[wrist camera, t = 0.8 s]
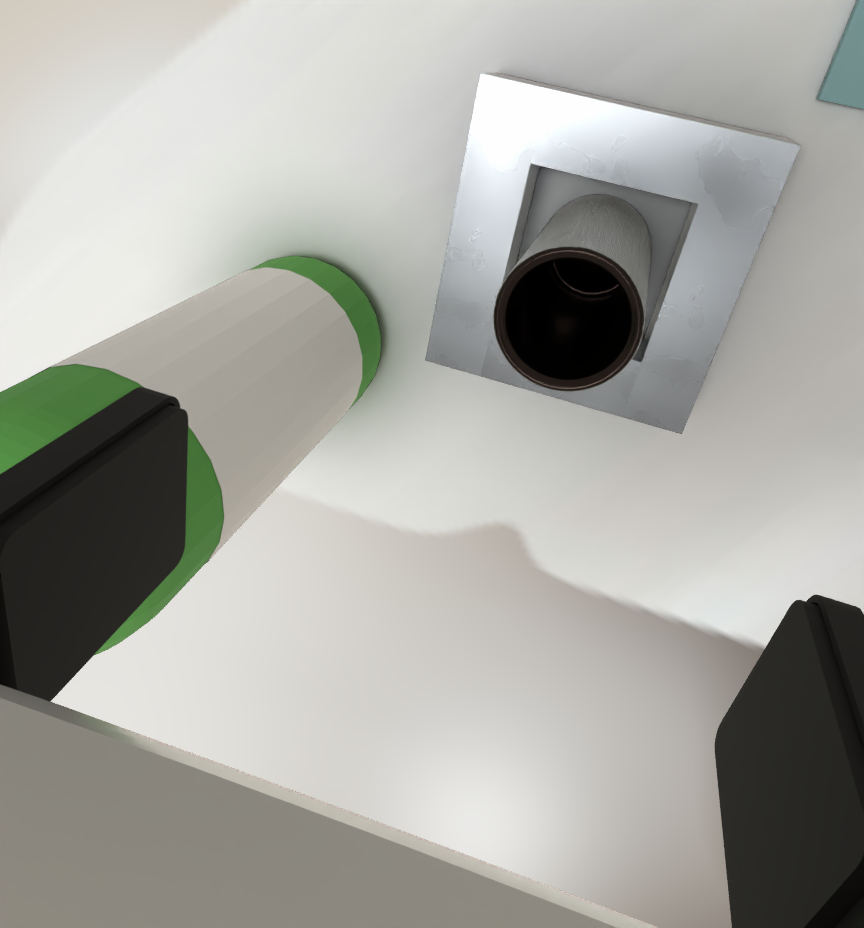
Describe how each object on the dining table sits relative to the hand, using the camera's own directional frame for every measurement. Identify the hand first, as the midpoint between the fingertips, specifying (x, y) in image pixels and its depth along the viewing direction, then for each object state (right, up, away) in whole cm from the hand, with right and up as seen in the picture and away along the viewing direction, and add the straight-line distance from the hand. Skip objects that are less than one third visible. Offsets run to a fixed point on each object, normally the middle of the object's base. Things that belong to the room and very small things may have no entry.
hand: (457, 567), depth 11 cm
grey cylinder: (+6, +11, +20) cm, 23 cm away
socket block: (+6, +11, +20) cm, 23 cm away
